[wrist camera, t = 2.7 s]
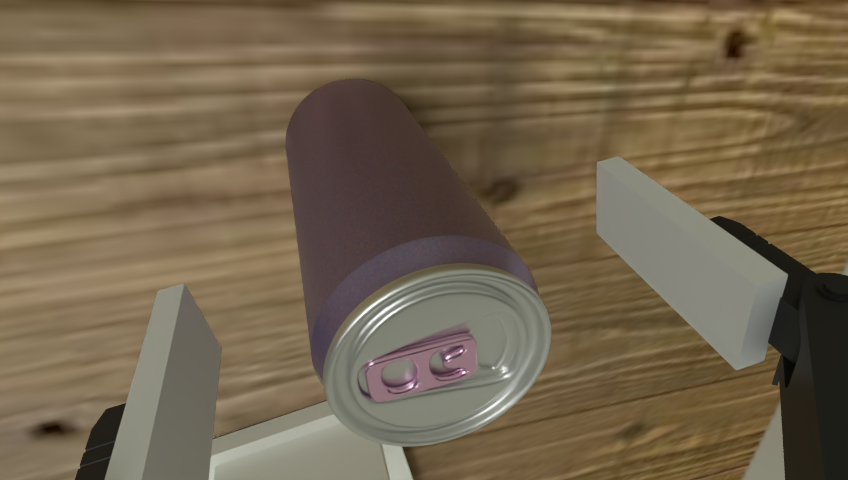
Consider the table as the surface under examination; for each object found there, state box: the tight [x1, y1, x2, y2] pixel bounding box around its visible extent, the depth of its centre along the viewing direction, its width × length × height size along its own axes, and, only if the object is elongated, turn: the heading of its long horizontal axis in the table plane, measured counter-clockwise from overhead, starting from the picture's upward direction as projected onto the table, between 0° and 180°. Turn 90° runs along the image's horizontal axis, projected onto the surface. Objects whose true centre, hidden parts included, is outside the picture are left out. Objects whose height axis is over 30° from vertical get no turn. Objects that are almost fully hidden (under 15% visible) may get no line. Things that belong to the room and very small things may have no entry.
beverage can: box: [286, 79, 551, 446], centre depth 18 cm, size 6×6×15 cm
